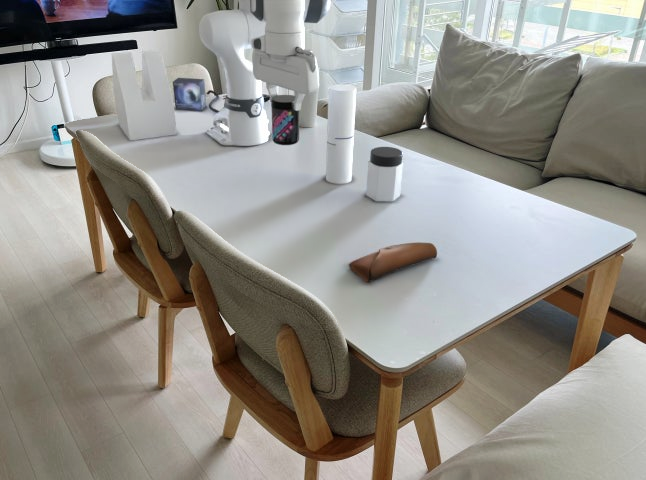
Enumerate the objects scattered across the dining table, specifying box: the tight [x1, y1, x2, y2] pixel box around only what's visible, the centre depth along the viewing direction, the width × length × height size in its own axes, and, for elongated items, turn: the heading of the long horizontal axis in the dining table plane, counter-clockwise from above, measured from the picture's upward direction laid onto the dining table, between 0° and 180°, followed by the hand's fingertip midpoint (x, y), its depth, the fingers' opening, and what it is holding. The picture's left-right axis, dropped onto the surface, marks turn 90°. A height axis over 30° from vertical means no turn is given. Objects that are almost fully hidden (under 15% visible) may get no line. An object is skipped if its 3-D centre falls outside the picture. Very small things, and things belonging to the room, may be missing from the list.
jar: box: [365, 146, 404, 203], centre depth 152 cm, size 9×8×12 cm
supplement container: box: [270, 94, 300, 146], centre depth 141 cm, size 7×7×10 cm
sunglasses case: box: [348, 241, 438, 283], centre depth 123 cm, size 18×7×7 cm
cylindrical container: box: [325, 83, 357, 185], centre depth 158 cm, size 7×7×25 cm
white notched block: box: [111, 49, 178, 141], centre depth 195 cm, size 19×15×25 cm
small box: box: [172, 77, 207, 112], centre depth 221 cm, size 11×6×10 cm, turn 80°
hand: (285, 106), depth 140 cm, fingers closed on supplement container, 7 cm apart
